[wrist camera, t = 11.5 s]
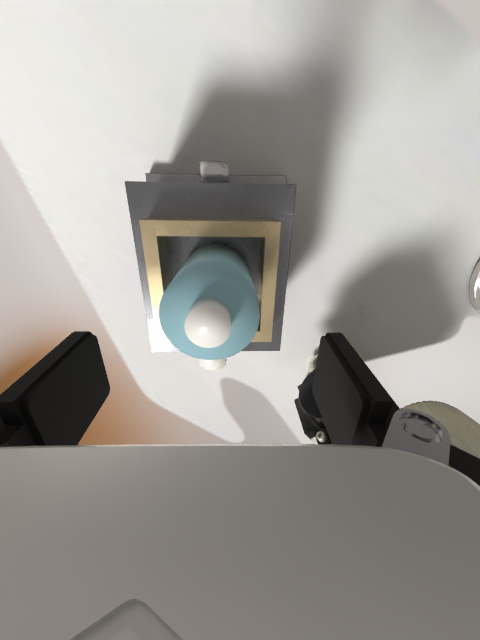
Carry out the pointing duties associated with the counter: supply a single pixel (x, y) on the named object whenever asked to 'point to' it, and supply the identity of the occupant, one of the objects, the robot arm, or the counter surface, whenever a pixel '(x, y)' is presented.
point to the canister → (453, 425)
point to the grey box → (213, 237)
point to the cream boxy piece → (311, 409)
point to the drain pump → (211, 306)
